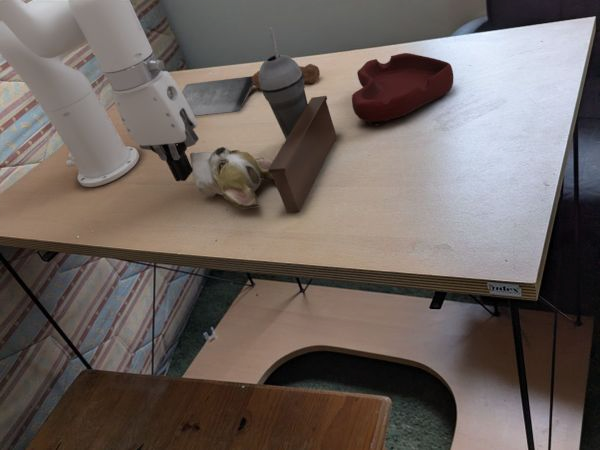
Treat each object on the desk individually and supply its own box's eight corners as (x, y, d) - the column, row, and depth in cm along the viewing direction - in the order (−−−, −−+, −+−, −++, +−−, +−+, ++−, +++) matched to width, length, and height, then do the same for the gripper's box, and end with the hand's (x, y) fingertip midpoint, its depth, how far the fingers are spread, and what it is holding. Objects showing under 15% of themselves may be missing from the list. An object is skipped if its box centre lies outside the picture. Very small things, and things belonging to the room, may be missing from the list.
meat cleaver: (166, 118, 122) (158, 102, 120) (191, 93, 130) (184, 77, 127) (304, 105, 107) (298, 86, 105) (323, 77, 115) (318, 59, 112)
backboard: (285, 212, 80) (267, 169, 75) (324, 137, 94) (311, 97, 89) (301, 212, 79) (284, 168, 74) (338, 136, 93) (326, 95, 88)
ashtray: (457, 116, 86) (453, 87, 83) (355, 134, 91) (348, 107, 88) (453, 67, 100) (449, 41, 97) (364, 86, 105) (358, 61, 102)
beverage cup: (289, 133, 99) (251, 24, 87) (327, 129, 96) (293, 15, 84) (276, 156, 94) (233, 43, 82) (316, 152, 91) (277, 35, 79)
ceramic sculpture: (206, 126, 90) (282, 132, 82) (224, 169, 95) (297, 179, 87) (164, 164, 84) (242, 175, 76) (186, 208, 89) (261, 223, 81)
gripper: (188, 53, 79) (233, 160, 90) (108, 67, 85) (159, 165, 96) (163, 78, 74) (214, 188, 85) (79, 90, 80) (137, 191, 91)
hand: (185, 175), depth 90 cm, fingers closed
